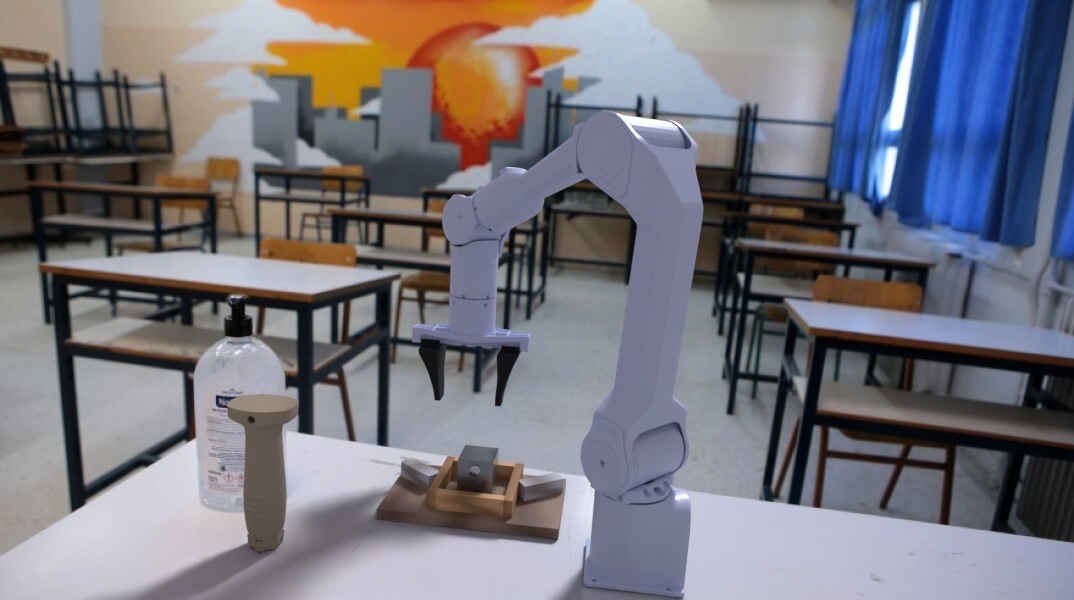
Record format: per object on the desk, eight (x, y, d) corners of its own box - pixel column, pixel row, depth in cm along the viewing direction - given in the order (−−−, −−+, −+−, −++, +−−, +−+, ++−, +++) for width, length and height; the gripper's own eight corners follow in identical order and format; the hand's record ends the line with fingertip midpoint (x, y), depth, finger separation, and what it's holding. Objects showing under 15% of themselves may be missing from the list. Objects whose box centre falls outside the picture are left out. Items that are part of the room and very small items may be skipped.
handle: (286, 561, 65) (284, 414, 63) (222, 554, 66) (217, 408, 63) (307, 534, 70) (306, 397, 67) (247, 528, 71) (244, 392, 68)
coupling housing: (565, 487, 84) (567, 463, 83) (558, 539, 72) (560, 511, 72) (408, 471, 86) (409, 447, 85) (376, 518, 74) (376, 492, 73)
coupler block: (497, 485, 81) (499, 446, 80) (490, 505, 76) (492, 464, 75) (464, 482, 81) (465, 443, 80) (455, 501, 76) (457, 460, 75)
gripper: (535, 293, 86) (529, 395, 88) (424, 285, 87) (421, 385, 90) (529, 304, 79) (522, 414, 82) (408, 295, 80) (405, 403, 83)
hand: (468, 400), depth 85 cm, fingers open, 7 cm apart
